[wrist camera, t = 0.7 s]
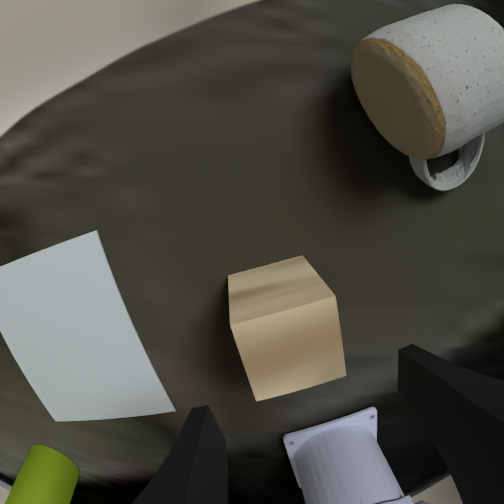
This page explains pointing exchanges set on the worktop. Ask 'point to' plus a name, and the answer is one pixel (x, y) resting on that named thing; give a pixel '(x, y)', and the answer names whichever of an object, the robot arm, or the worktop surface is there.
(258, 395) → the maple block
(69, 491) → the soap dispenser
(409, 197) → the worktop surface
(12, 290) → the blue-grey mat
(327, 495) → the robot arm
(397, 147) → the ceramic mug
